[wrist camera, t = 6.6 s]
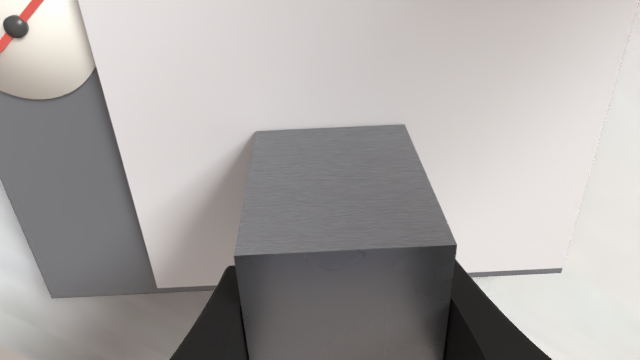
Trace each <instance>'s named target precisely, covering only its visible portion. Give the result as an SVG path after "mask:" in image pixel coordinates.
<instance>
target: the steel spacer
mask: <svg viewBox="0 0 640 360" xmlns="http://www.w3.org/2000/svg"><path fill="white" fill-rule="evenodd" d="M456 250H457V243H456V241H455V239H454V236H453V234H452V232H451V230H450V227H449V225H448V223H447V220H446V218H445V216H444V214H443V211H442V209H441V207H440V204H439V202H438V200H437V197H436V195H435V193H434V191H433V188H432V186H431V184H430V181H429V179H428V177H427V175H426V172H425V170H424V168H423V165H422V163H421V161H420V158H419V156H418V154H417V152H416V149H415V147H414V145H413V142H412V140H411V138H410V135H409V133H408V131H407V129H406V126H405V124H399V125H378V126H356V127H334V128H313V129H291V130H269V131H256V135H255V141H254V146H253V152H252V157H251V163H250V168H249V174H248V179H247V185H246V190H245V196H244V201H243V207H242V212H241V217H240V223H239V228H238V234H237V239H236V245H235V250H234V262H235V269H236V275H237V282H238V288H239V295H240V301H241V308H242V315H243V321H244V328H245V334H246V341H247V347H248V354H249V360H443V355H444V347H445V339H446V331H447V323H448V315H449V307H450V299H451V291H452V282H453V274H454V266H455V258H456Z"/></svg>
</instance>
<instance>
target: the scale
mask: <svg viewBox="0 0 640 360" xmlns="http://www.w3.org/2000/svg"><path fill="white" fill-rule="evenodd" d="M639 1H640V0H0V179H1V181H2V184H3V186H4V188H5V191H6V193H7V195H8V198H9V200H10V202H11V205H12V207H13V209H14V212H15V214H16V216H17V218H18V221H19V223H20V225H21V228H22V230H23V232H24V235H25V237H26V239H27V242H28V244H29V246H30V249H31V251H32V253H33V256H34V258H35V260H36V263H37V265H38V267H39V270H40V272H41V274H42V276H43V279H44V281H45V283H46V286H47V288H48V290H49V293H50V295H51V297H52V298H69V297H89V296H109V295H129V294H149V293H169V292H189V291H209V290H215V289H216V287H217V285H218V283H219V281H220V279H221V277H222V275H223V273H224V271H225V269H226V268H227V267H228V266H233V265H235V262H234V250H235V245H236V239H237V234H238V228H239V223H240V217H241V212H242V207H243V201H244V196H245V190H246V185H247V179H248V174H249V168H250V163H251V157H252V152H253V146H254V141H255V135H256V131H269V130H291V129H313V128H334V127H356V126H378V125H399V124H405V126H406V129H407V131H408V133H409V135H410V138H411V140H412V142H413V145H414V147H415V149H416V152H417V154H418V156H419V158H420V161H421V163H422V165H423V168H424V170H425V172H426V175H427V177H428V179H429V181H430V184H431V186H432V188H433V191H434V193H435V195H436V197H437V200H438V202H439V204H440V207H441V209H442V211H443V214H444V216H445V218H446V220H447V223H448V225H449V227H450V230H451V232H452V234H453V236H454V239H455V241H456V243H457V250H456V258H455V259H456V260H457V261H458V263H459V264H460V265H461V266H462V267H463V269H464V270H465V271H466V272H467V274H468V275H469V276H470V277H488V276H508V275H528V274H548V273H561V271H562V268H563V266H564V262H565V259H566V255H567V252H568V248H569V245H570V241H571V238H572V234H573V231H574V228H575V224H576V221H577V217H578V214H579V210H580V207H581V203H582V200H583V196H584V193H585V189H586V186H587V182H588V179H589V175H590V172H591V168H592V165H593V161H594V158H595V154H596V151H597V147H598V144H599V141H600V137H601V134H602V130H603V127H604V123H605V120H606V116H607V113H608V109H609V106H610V102H611V99H612V95H613V92H614V88H615V85H616V81H617V78H618V74H619V71H620V67H621V64H622V60H623V57H624V54H625V50H626V47H627V43H628V40H629V36H630V33H631V29H632V26H633V22H634V19H635V15H636V12H637V8H638V5H639Z"/></svg>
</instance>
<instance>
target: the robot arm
mask: <svg viewBox="0 0 640 360" xmlns="http://www.w3.org/2000/svg"><path fill="white" fill-rule="evenodd" d="M170 360H249V354H248V347H247V341H246V334H245V328H244V321H243V315H242V308H241V301H240V295H239V288H238V282H237V275H236V269H235V265H233V266H228V267H227V268H226V269H225V271H224V273H223V275H222V277H221V279H220V281H219V283H218V285H217V287H216V289H215V291H214V292H213V294H212V296H211V298H210V299H209V301H208V303H207V305H206V306H205V308H204V310H203V311H202V313H201V314H200V316H199V318H198V319H197V321H196V322H195V324H194V326H193V327H192V329H191V330H190V332H189V333H188V335H187V336H186V337H185V339H184V340H183V342H182V343H181V345H180V346H179V347H178V349H177V350H176V352H175V353H174V354H173V356H172V357H171V358H170ZM443 360H552V359H551V358H549V357H548V356H547V355H546V354H545V353H544V352H543V351H541V350H540V349H539V348H538V347H537V346H536V345H535V344H534V343H533V342H531V341H530V340H529V339H528V338H527V337H526V336H525V335H524V334H523V333H522V332H521V331H520V330H519V329H518V328H517V327H516V326H515V325H514V324H513V323H512V322H511V321H510V320H509V319H508V318H507V317H506V316H505V315H504V314H503V313H502V312H501V311H500V310H499V309H498V308H497V306H496V305H495V304H494V303H493V302H492V301H491V300H490V299H489V298H488V297H487V296H486V294H485V293H484V292H483V291H482V290H481V289H480V288H479V286H478V285H477V284H476V283H475V282H474V281H473V280H472V278H471V277H470V276H469V275H468V274H467V272H466V271H465V270H464V269H463V267H462V266H461V265H460V264H459V263H458V261H457V260H456V259H455V266H454V274H453V282H452V291H451V299H450V307H449V315H448V323H447V331H446V339H445V347H444V355H443Z"/></svg>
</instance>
